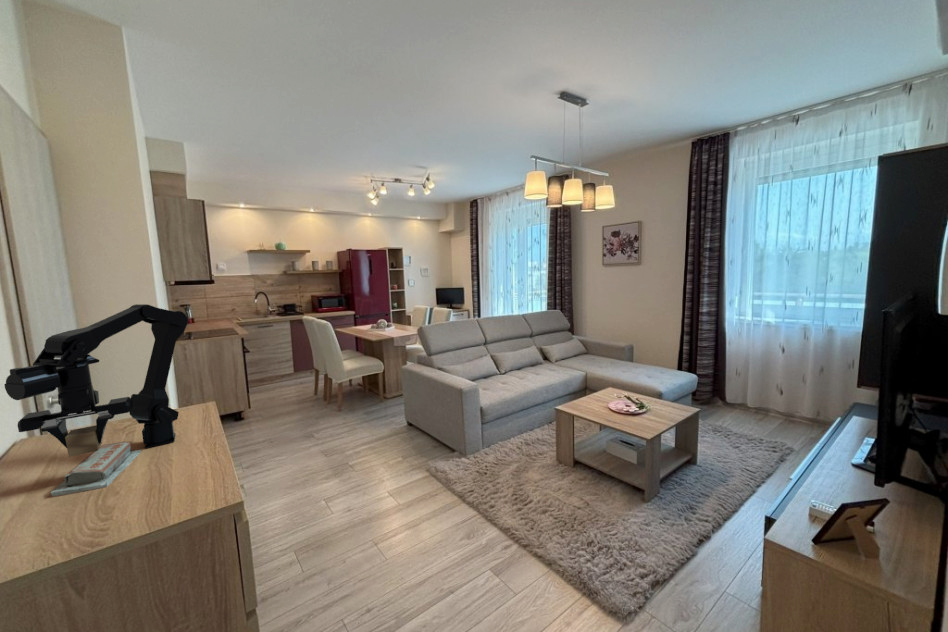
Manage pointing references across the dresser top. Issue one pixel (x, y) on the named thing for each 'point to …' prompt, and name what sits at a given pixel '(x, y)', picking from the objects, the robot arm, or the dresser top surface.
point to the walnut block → (82, 441)
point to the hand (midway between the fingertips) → (85, 446)
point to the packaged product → (97, 469)
